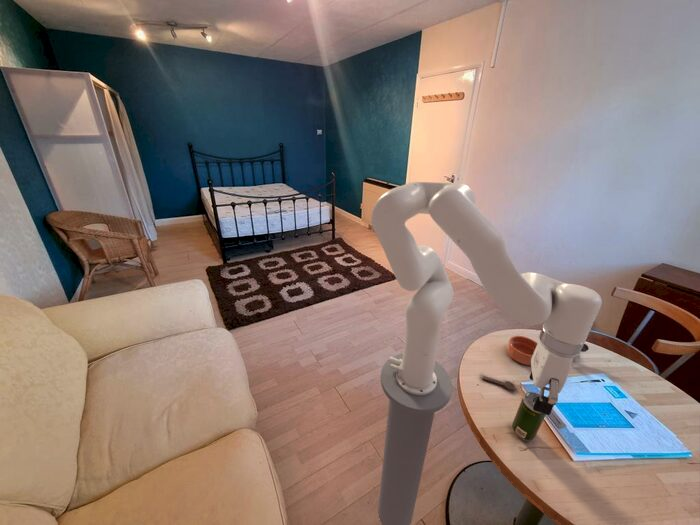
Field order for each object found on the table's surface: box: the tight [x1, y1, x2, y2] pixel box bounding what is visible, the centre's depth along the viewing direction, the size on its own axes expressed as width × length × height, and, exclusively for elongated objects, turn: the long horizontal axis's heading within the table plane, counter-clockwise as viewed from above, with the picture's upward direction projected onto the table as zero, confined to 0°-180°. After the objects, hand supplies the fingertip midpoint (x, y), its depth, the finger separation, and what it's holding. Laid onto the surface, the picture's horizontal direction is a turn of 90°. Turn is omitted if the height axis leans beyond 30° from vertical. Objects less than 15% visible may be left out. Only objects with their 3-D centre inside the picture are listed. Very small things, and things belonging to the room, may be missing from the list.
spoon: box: [482, 375, 516, 392], centre depth 87 cm, size 9×3×1 cm, turn 64°
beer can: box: [511, 391, 547, 442], centre depth 71 cm, size 5×5×12 cm
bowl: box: [506, 335, 538, 366], centre depth 97 cm, size 10×10×4 cm
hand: (538, 395), depth 68 cm, fingers open, 9 cm apart
